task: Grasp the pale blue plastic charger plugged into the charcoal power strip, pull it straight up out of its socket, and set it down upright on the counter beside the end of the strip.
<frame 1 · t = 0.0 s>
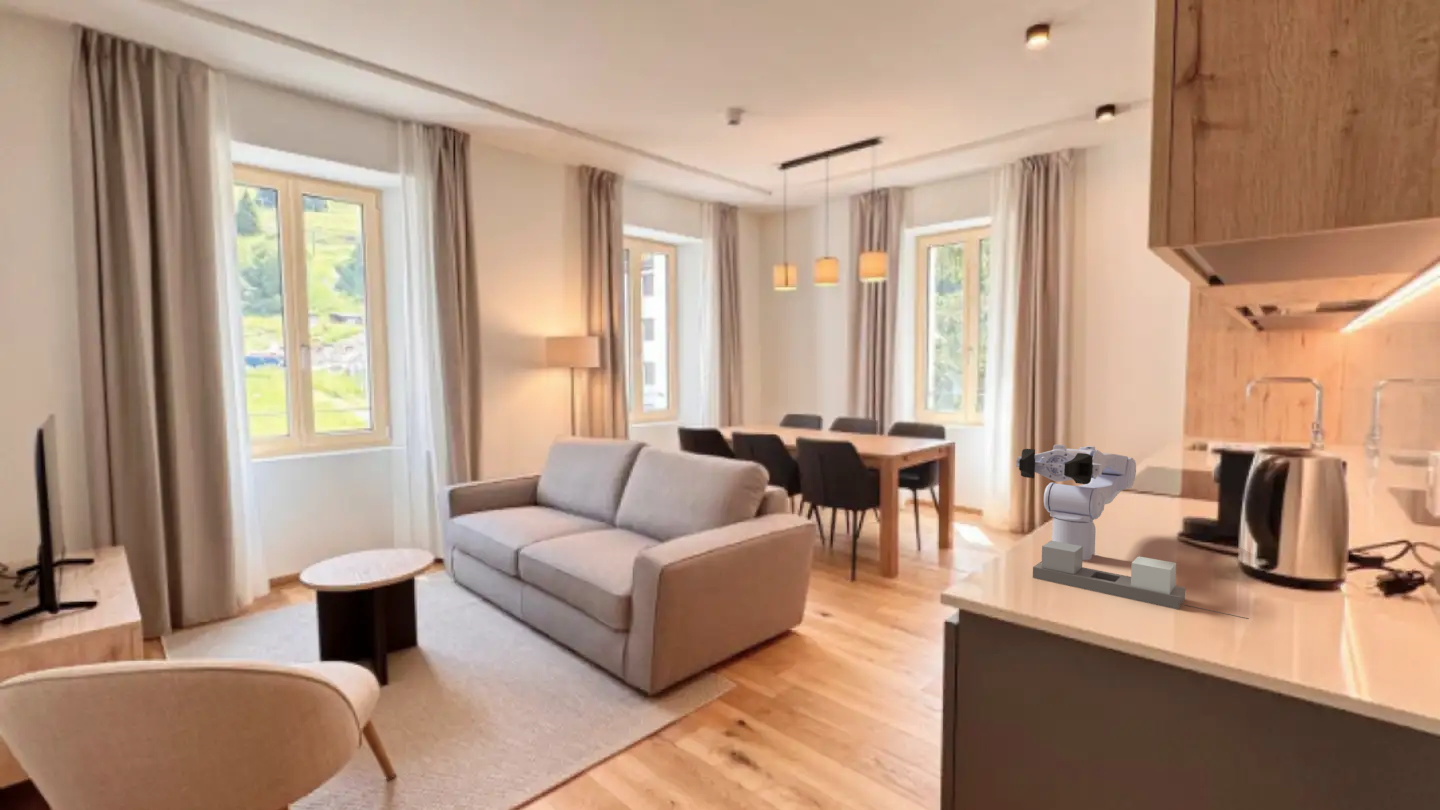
hand: (1043, 467, 116), 22 cm above the counter, tool horizontal, fingers open, 7 cm apart
charger: (1152, 597, 107), point 1 cm above the counter, touching power strip
power strip: (1104, 593, 112), on the counter
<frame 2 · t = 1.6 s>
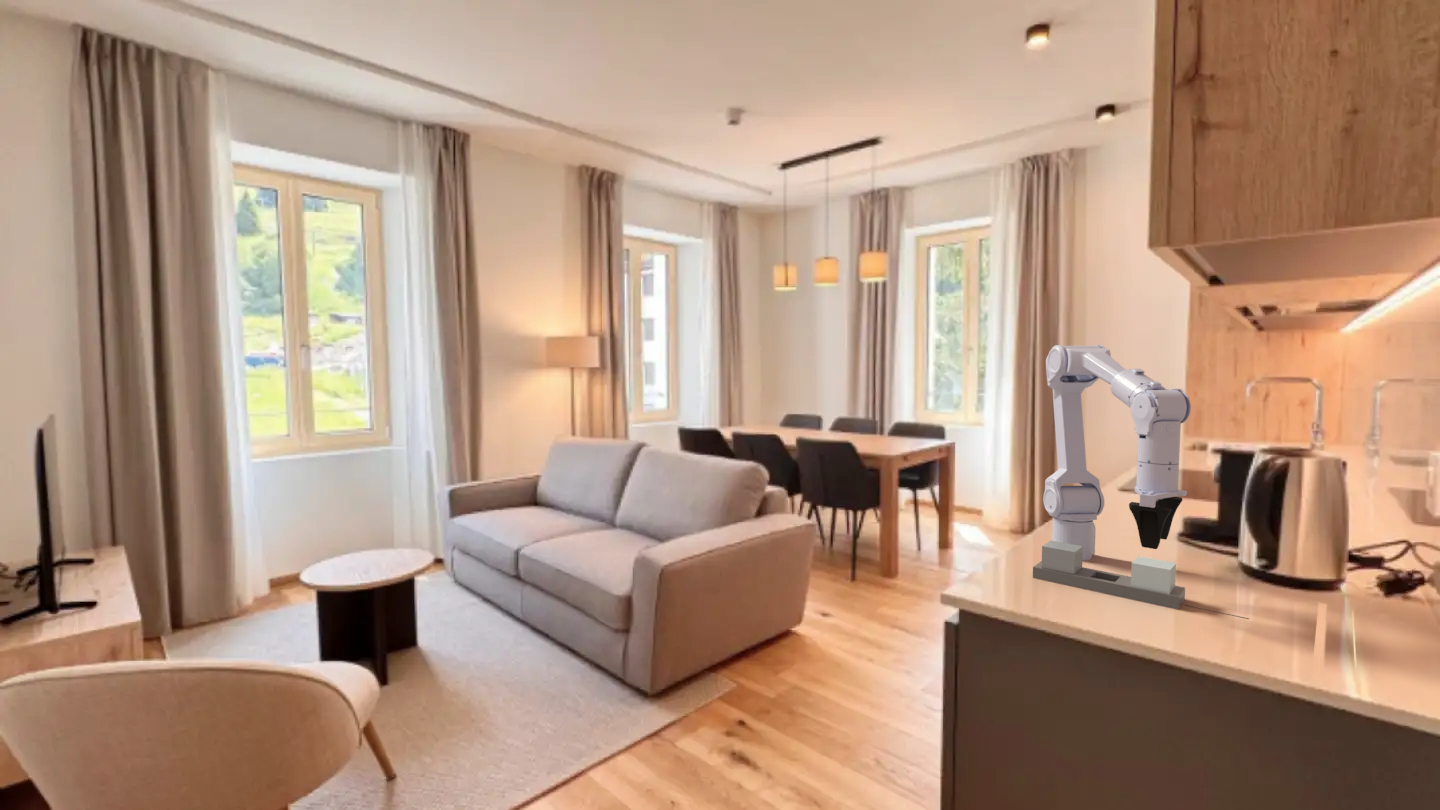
hand: (1154, 542, 106), 10 cm above the counter, tool pointing down, fingers open, 7 cm apart
nothing on the counter moved.
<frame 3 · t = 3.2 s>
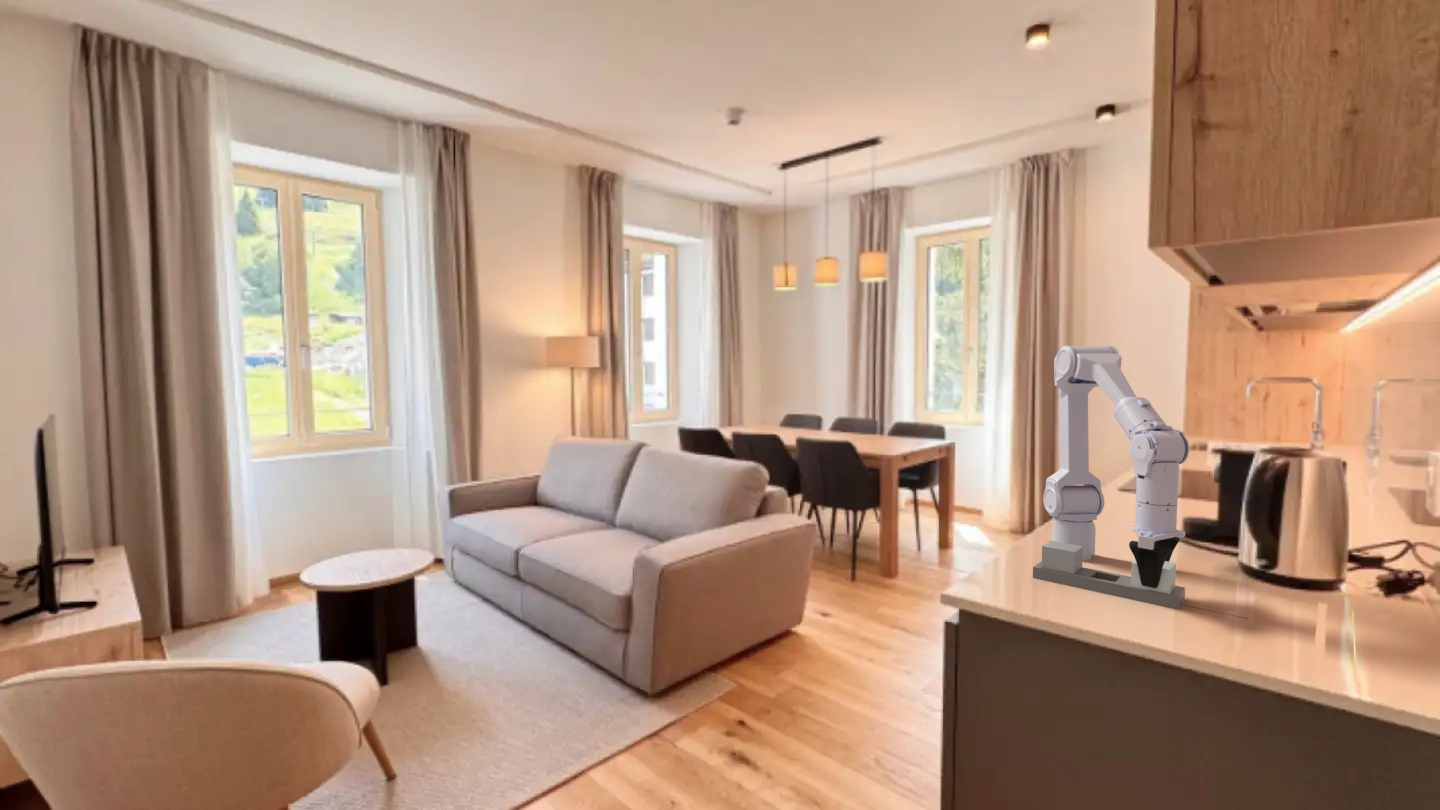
hand: (1153, 582, 107), 4 cm above the counter, tool pointing down, fingers closed on charger, 5 cm apart
charger: (1152, 597, 107), point 1 cm above the counter, touching gripper, power strip
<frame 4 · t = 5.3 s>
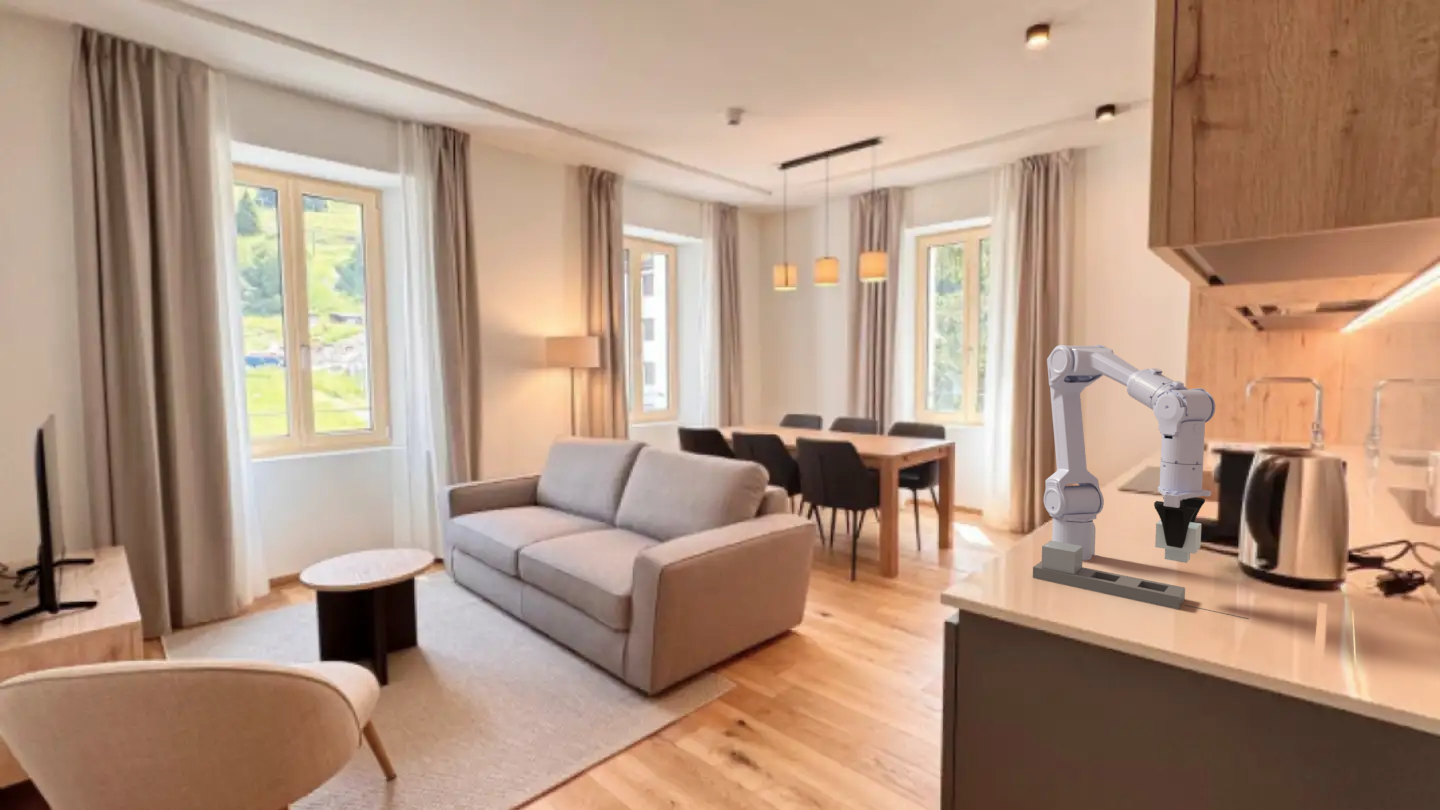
hand: (1178, 543, 106), 10 cm above the counter, tool pointing down, fingers closed on charger, 5 cm apart
charger: (1177, 559, 106), point 8 cm above the counter, touching gripper
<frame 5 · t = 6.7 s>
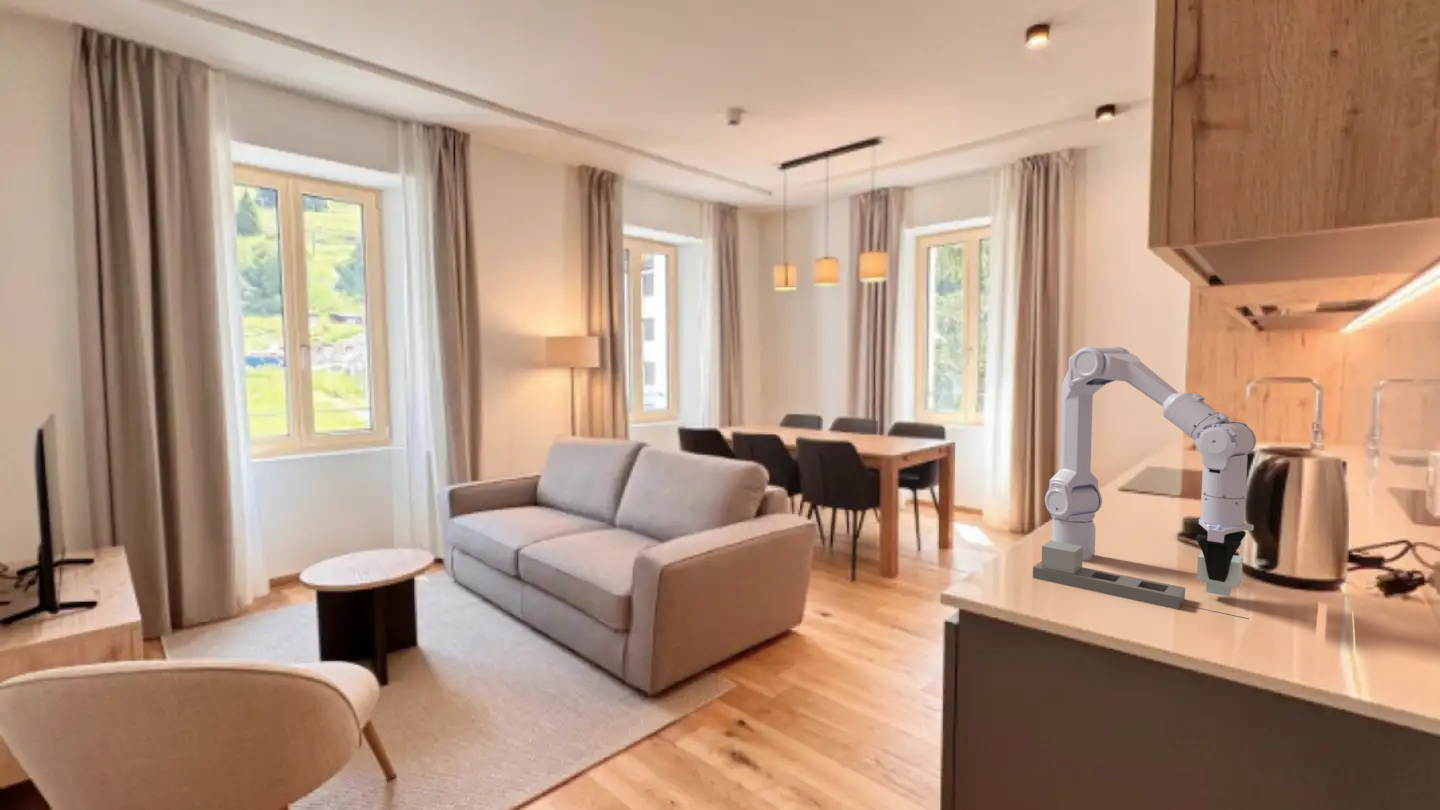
hand: (1219, 576, 106), 5 cm above the counter, tool pointing down, fingers closed on charger, 5 cm apart
charger: (1218, 592, 106), point 2 cm above the counter, touching gripper
when the fingers open (4 cm above the counter, at t = 7.8 s): charger drops 2 cm, on the counter.
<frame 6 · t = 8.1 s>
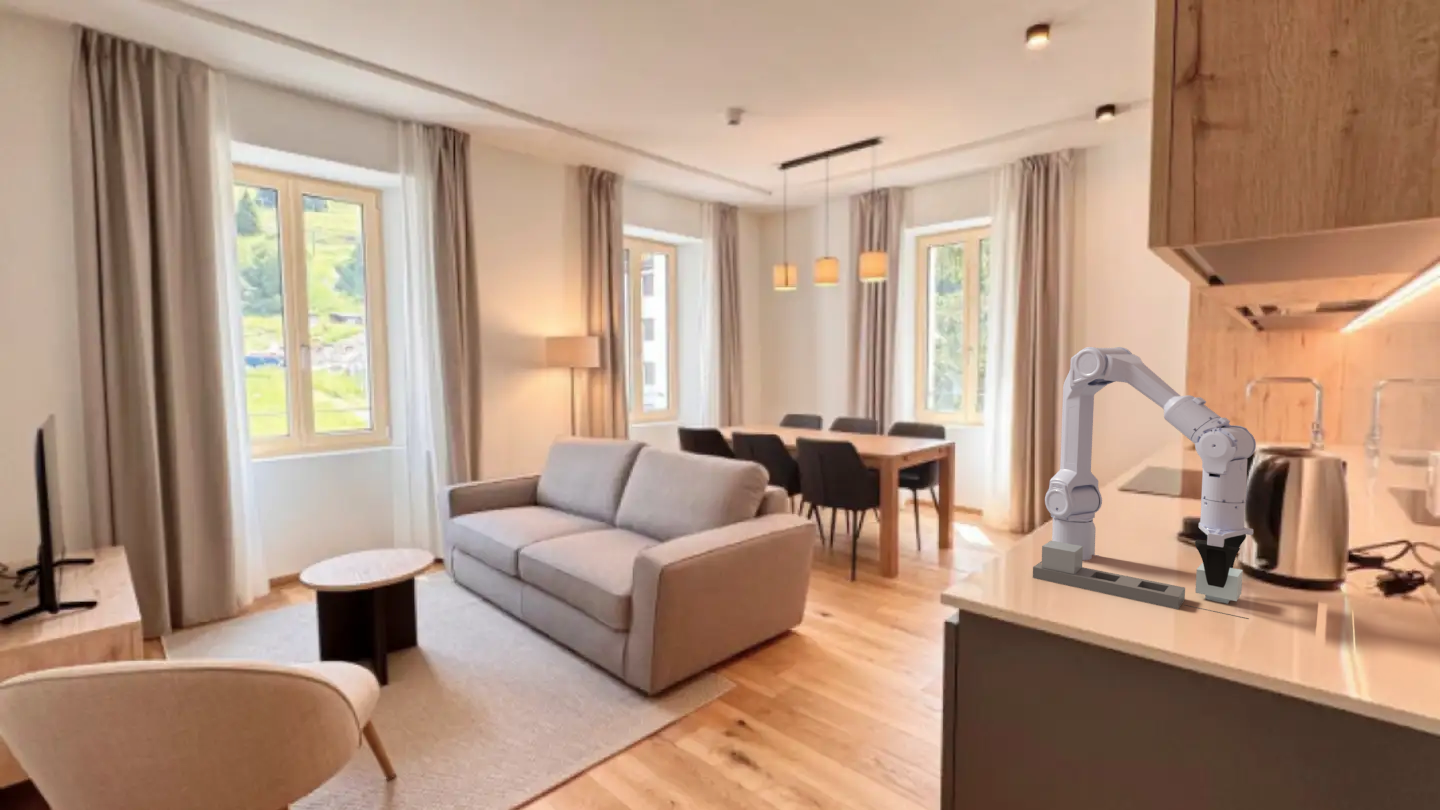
hand: (1219, 580, 106), 4 cm above the counter, tool pointing down, fingers open, 7 cm apart
charger: (1217, 604, 106), on the counter
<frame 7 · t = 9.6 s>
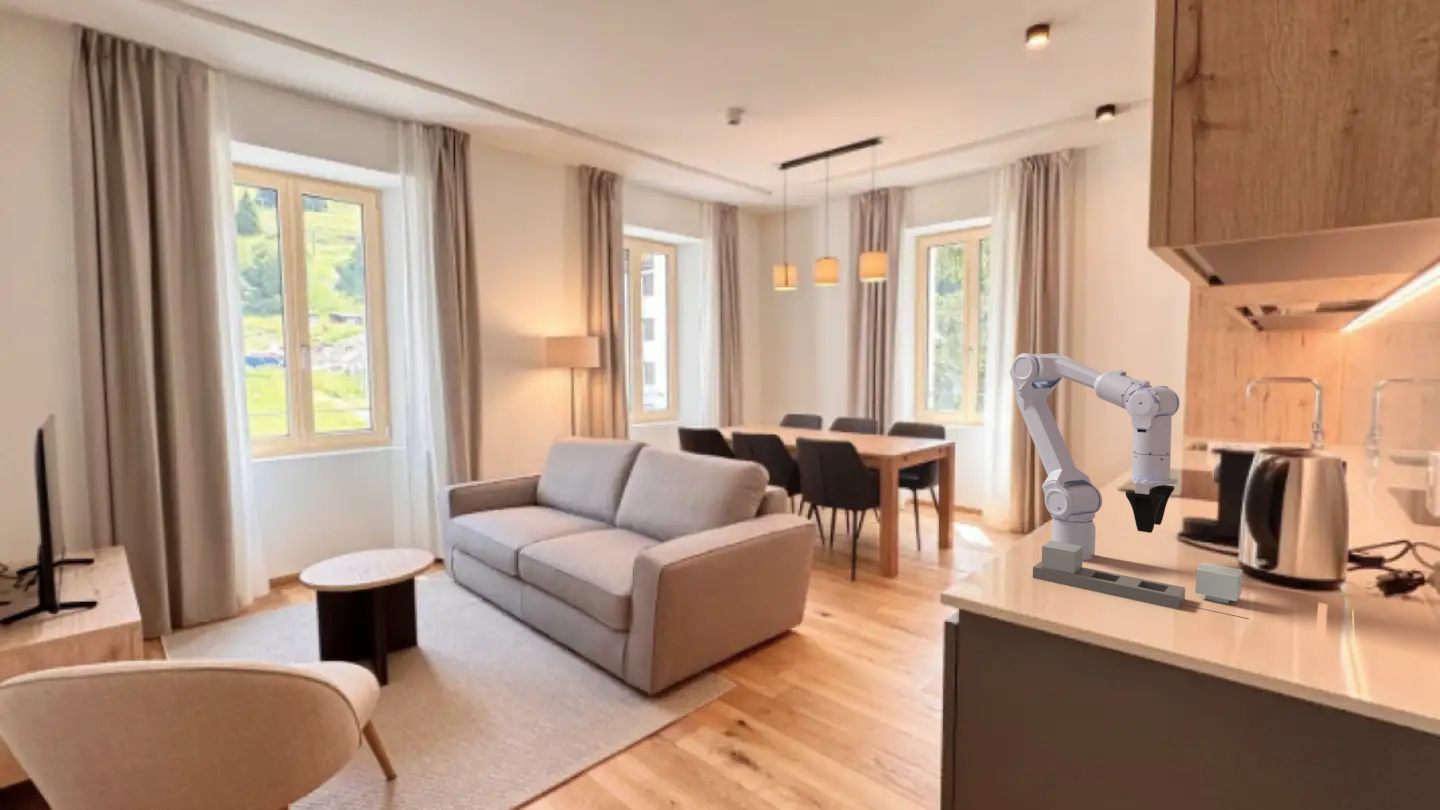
hand: (1149, 527, 116), 10 cm above the counter, tool pointing down, fingers open, 7 cm apart
nothing on the counter moved.
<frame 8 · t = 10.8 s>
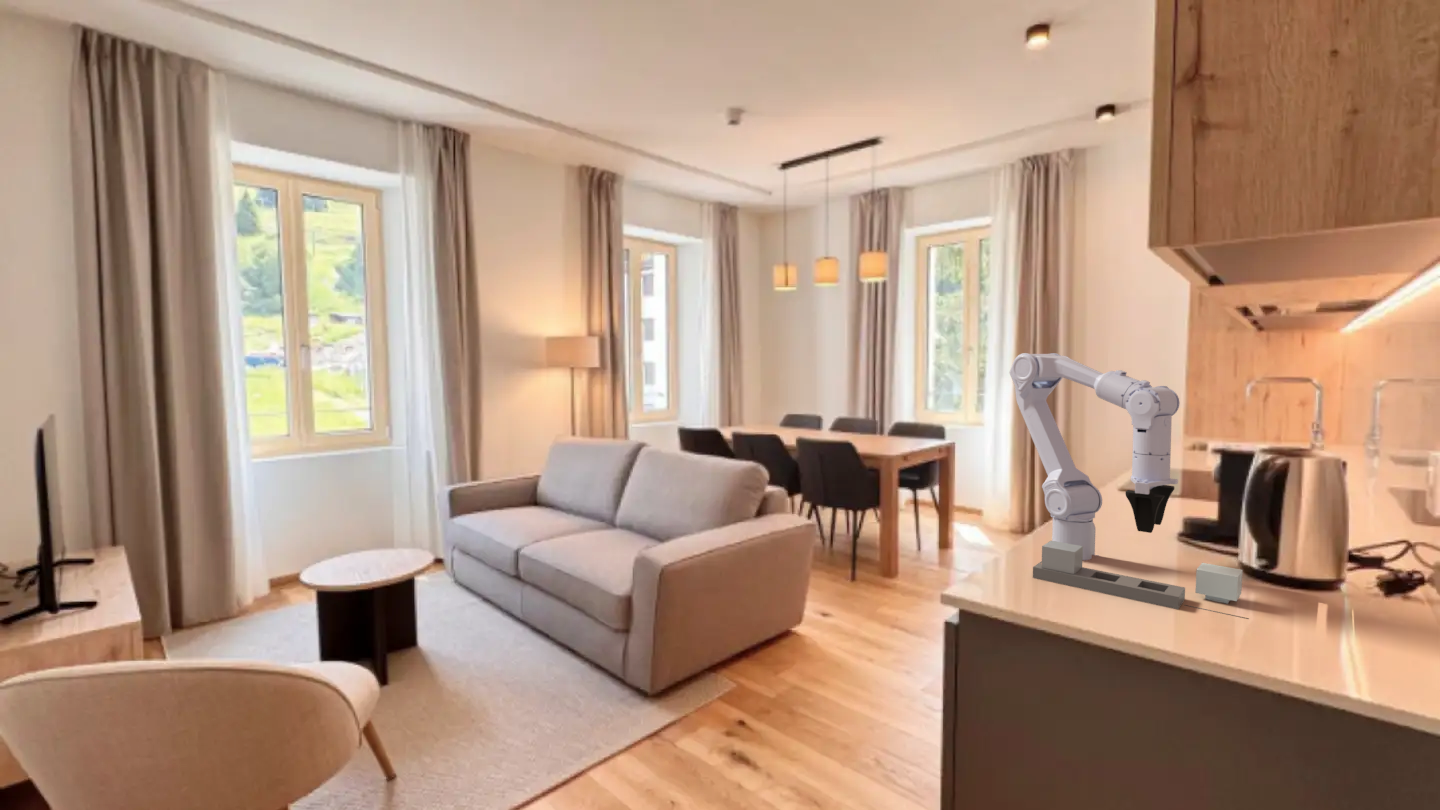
hand: (1149, 527, 116), 10 cm above the counter, tool pointing down, fingers open, 7 cm apart
nothing on the counter moved.
at the end: charger inside the target area (0.0 cm from its centre), on the counter; charger tilted 0°; the gripper is holding nothing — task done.
